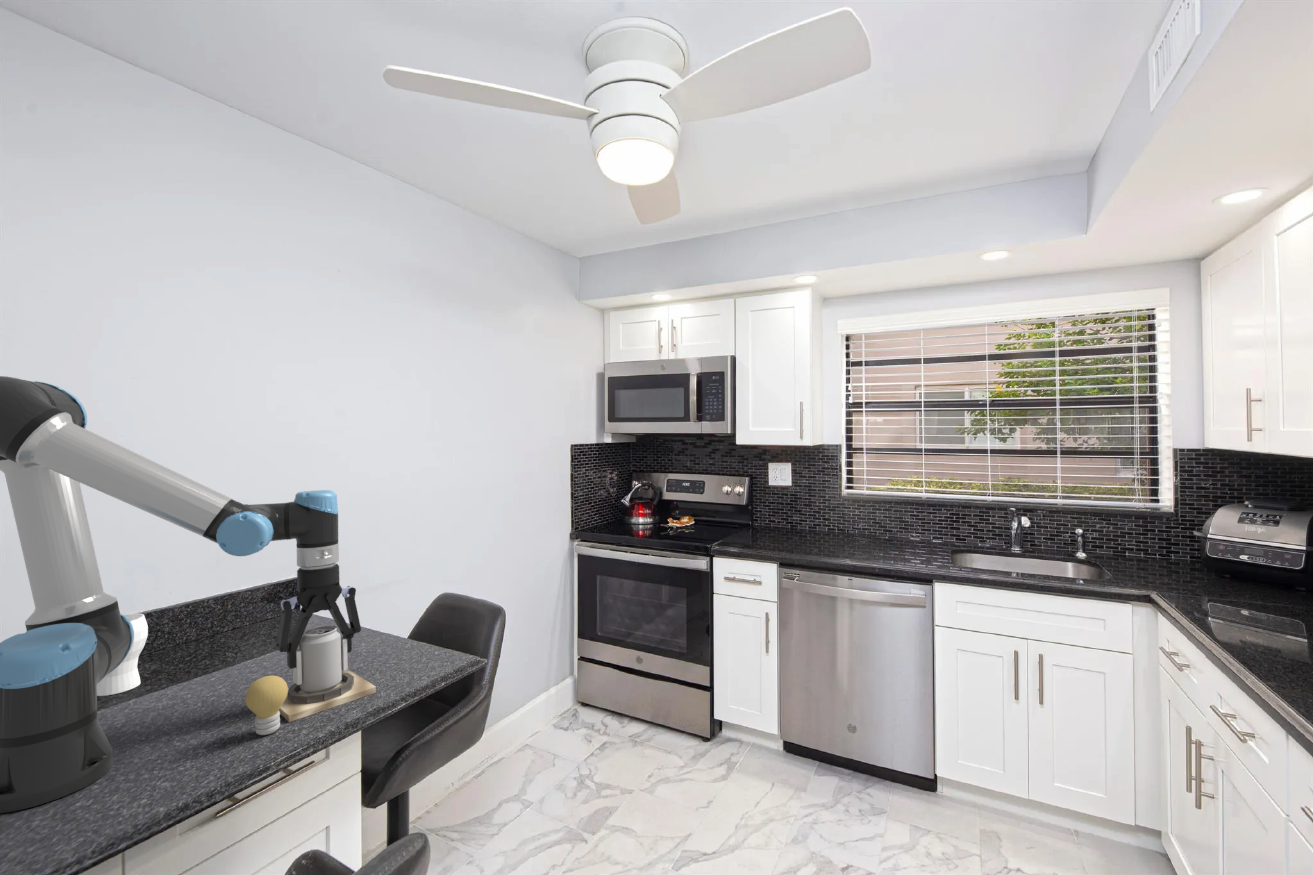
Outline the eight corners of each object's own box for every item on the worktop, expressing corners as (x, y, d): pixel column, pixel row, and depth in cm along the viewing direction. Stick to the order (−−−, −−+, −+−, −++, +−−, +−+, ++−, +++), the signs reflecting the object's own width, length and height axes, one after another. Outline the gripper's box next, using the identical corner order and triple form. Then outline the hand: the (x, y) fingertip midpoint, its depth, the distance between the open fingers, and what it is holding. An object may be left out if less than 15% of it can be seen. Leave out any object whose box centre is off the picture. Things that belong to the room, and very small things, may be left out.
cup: (152, 687, 126) (150, 618, 126) (83, 704, 118) (81, 631, 118) (146, 674, 133) (144, 609, 133) (81, 689, 126) (79, 621, 125)
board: (289, 722, 108) (288, 707, 108) (266, 701, 118) (265, 687, 118) (376, 692, 121) (375, 679, 121) (349, 675, 130) (348, 663, 130)
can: (322, 696, 115) (320, 636, 115) (290, 693, 116) (289, 634, 116) (350, 680, 122) (348, 624, 122) (320, 678, 124) (318, 622, 124)
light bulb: (256, 744, 101) (255, 687, 101) (239, 735, 104) (238, 680, 104) (295, 728, 106) (294, 674, 106) (278, 720, 109) (277, 667, 109)
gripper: (265, 578, 109) (268, 698, 109) (377, 558, 124) (380, 664, 124) (253, 572, 114) (256, 688, 114) (363, 554, 129) (365, 656, 129)
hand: (321, 675), depth 119 cm, fingers open, 8 cm apart
